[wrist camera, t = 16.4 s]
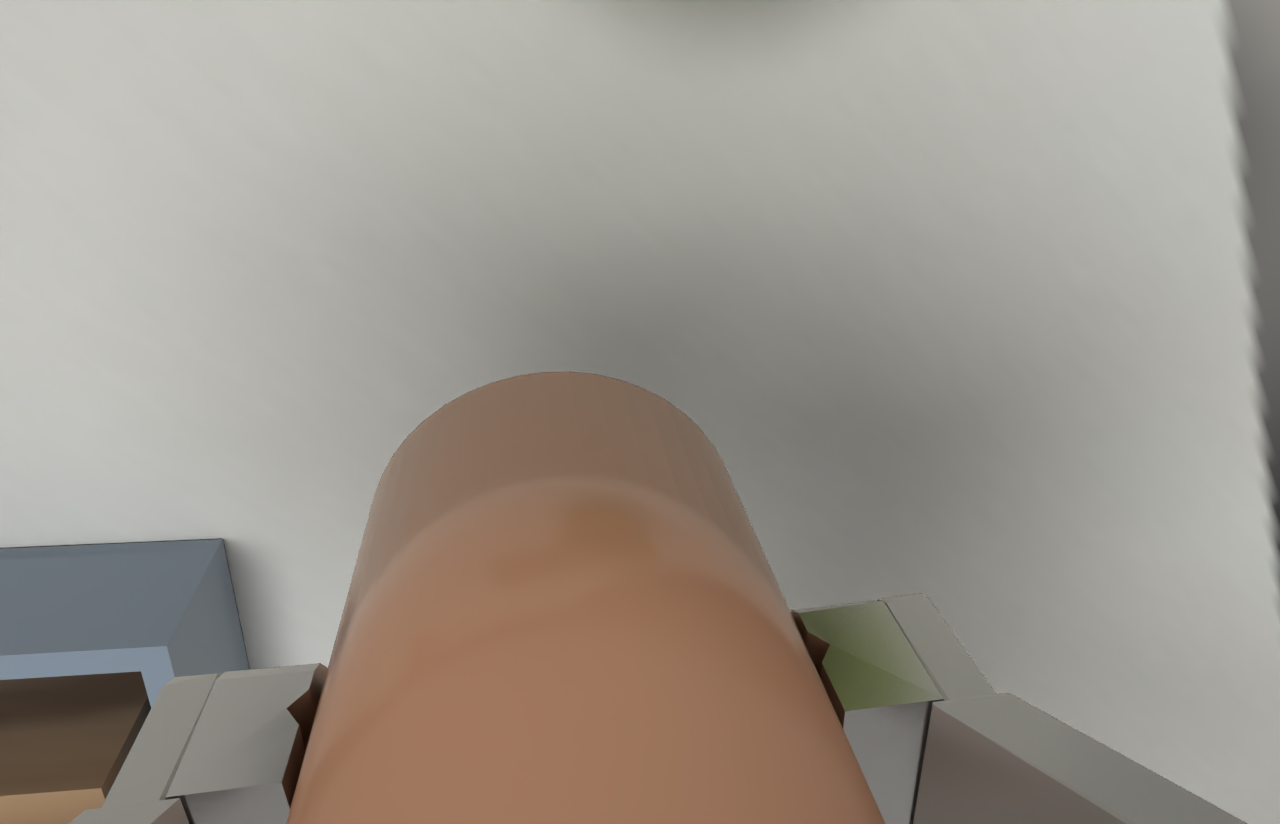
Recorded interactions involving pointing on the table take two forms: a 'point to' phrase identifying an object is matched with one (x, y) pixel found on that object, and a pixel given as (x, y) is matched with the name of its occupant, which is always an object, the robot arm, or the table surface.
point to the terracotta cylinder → (569, 633)
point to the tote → (119, 611)
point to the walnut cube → (65, 742)
